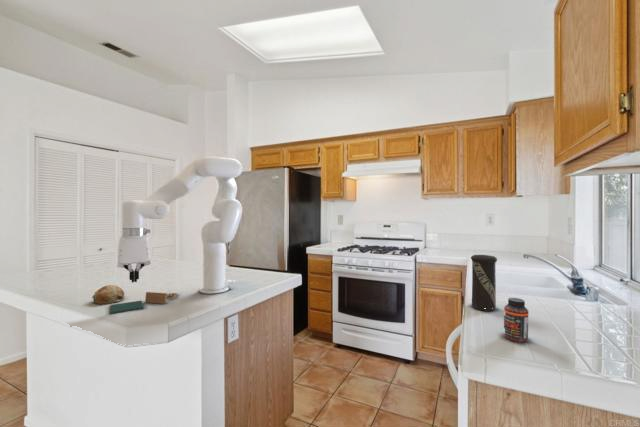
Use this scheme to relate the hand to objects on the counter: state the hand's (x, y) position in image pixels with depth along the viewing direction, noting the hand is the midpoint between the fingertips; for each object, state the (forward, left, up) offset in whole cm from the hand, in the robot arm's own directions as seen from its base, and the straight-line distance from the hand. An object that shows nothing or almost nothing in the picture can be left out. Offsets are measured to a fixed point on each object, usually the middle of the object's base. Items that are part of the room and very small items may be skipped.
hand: (134, 281), depth 114 cm
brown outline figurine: (-7, -2, -8) cm, 11 cm away
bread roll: (+8, -15, -10) cm, 20 cm away
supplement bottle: (-90, +93, -10) cm, 129 cm away
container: (-110, +73, -10) cm, 132 cm away
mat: (+2, -1, -10) cm, 10 cm away
